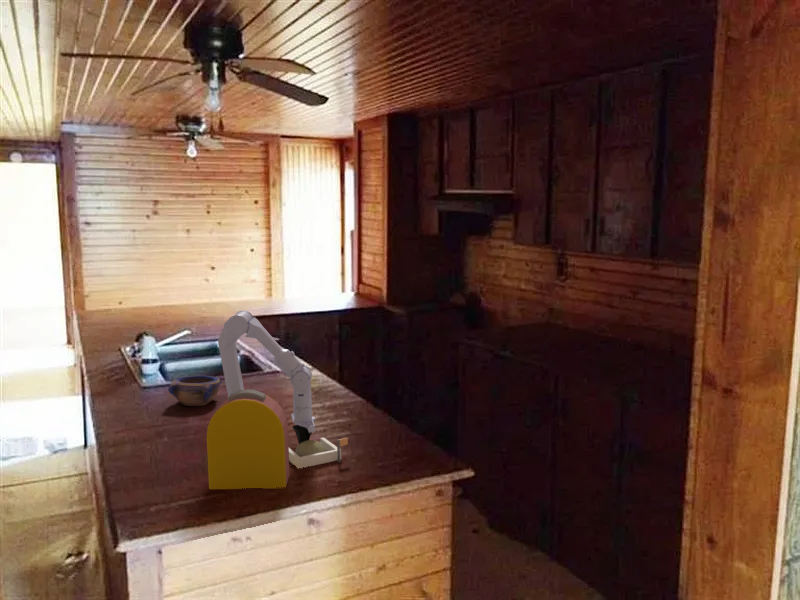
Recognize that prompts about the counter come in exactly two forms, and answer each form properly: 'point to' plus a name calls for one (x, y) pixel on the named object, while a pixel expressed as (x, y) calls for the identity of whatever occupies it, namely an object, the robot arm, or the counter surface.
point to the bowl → (195, 389)
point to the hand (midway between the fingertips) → (303, 447)
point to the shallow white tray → (319, 454)
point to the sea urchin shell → (309, 448)
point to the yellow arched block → (248, 443)
